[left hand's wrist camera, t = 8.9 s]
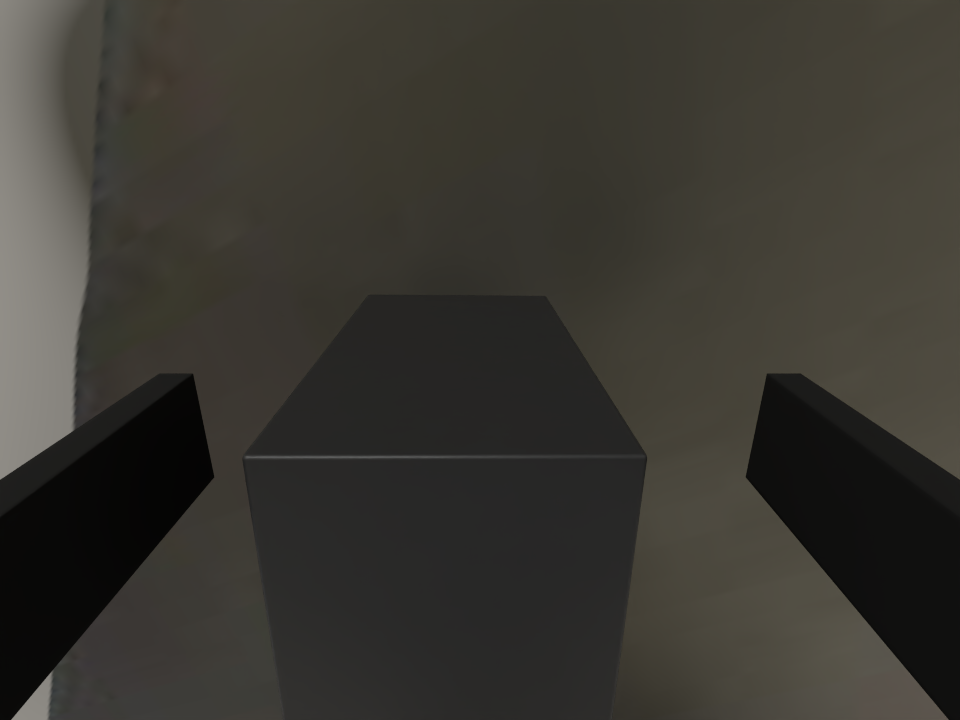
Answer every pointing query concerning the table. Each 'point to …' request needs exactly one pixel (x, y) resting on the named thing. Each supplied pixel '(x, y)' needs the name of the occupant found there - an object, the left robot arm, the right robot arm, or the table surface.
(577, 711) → the box
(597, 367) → the table surface
